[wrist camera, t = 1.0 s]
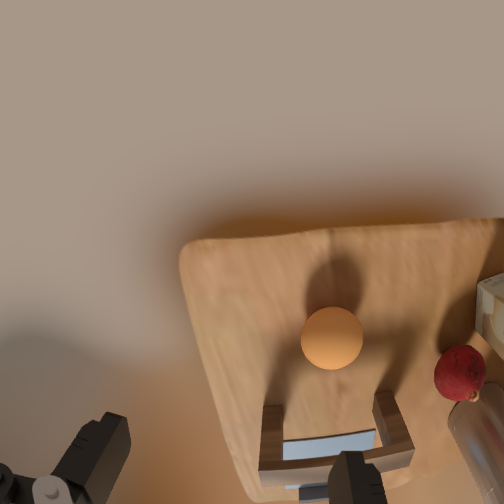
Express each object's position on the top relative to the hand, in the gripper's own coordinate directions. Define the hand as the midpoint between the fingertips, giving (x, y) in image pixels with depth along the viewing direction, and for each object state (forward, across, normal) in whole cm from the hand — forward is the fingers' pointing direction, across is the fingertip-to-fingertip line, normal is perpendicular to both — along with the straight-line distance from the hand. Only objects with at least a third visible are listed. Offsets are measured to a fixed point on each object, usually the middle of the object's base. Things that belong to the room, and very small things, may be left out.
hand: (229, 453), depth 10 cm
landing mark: (+19, -13, +26) cm, 34 cm away
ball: (+16, -7, +4) cm, 18 cm away
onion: (+19, -22, +6) cm, 30 cm away
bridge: (+19, -10, +15) cm, 26 cm away
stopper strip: (+19, -14, +32) cm, 40 cm away
